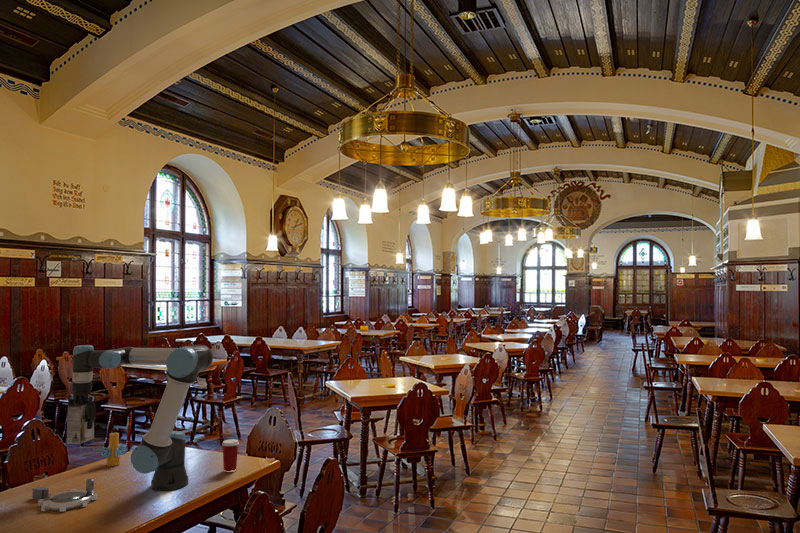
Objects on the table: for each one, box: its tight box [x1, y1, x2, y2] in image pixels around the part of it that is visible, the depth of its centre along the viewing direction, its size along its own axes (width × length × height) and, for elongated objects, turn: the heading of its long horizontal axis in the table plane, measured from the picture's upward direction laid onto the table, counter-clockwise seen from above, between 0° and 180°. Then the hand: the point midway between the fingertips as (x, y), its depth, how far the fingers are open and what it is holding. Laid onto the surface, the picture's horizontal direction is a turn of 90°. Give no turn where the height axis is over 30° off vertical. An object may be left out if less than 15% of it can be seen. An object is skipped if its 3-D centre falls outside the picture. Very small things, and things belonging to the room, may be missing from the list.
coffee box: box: [66, 403, 96, 445], centre depth 233 cm, size 9×6×16 cm
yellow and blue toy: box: [99, 432, 129, 467], centre depth 267 cm, size 12×10×15 cm
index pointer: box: [31, 485, 50, 501], centre depth 223 cm, size 7×3×4 cm, turn 72°
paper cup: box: [221, 438, 240, 471], centre depth 259 cm, size 8×8×14 cm
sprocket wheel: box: [37, 478, 98, 513], centre depth 218 cm, size 20×20×8 cm
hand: (80, 435), depth 233 cm, fingers closed on coffee box, 7 cm apart
